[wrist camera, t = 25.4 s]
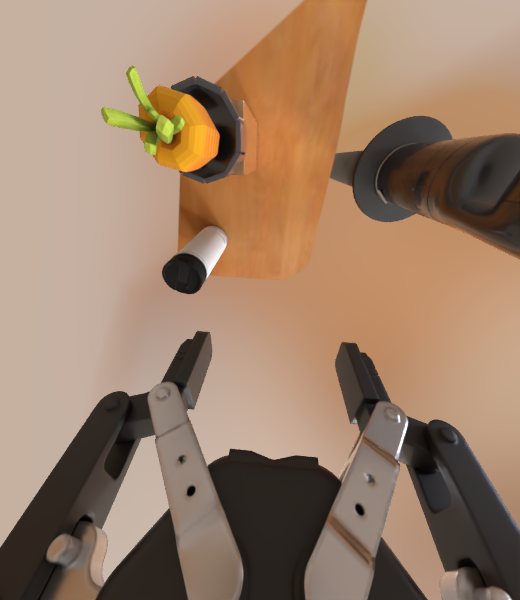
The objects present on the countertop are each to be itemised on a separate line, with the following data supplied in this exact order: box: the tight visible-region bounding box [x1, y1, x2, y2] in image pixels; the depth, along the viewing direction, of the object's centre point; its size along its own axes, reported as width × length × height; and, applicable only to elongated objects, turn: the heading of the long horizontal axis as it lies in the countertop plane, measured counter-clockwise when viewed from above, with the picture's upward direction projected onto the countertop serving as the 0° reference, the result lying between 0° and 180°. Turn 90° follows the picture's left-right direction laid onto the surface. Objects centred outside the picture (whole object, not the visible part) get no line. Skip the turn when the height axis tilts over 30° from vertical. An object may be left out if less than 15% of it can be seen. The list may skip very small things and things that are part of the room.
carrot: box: [101, 66, 220, 172], centre depth 18 cm, size 5×5×15 cm
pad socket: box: [171, 76, 258, 184], centre depth 29 cm, size 8×8×23 cm
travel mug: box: [162, 225, 227, 294], centre depth 40 cm, size 6×7×20 cm
